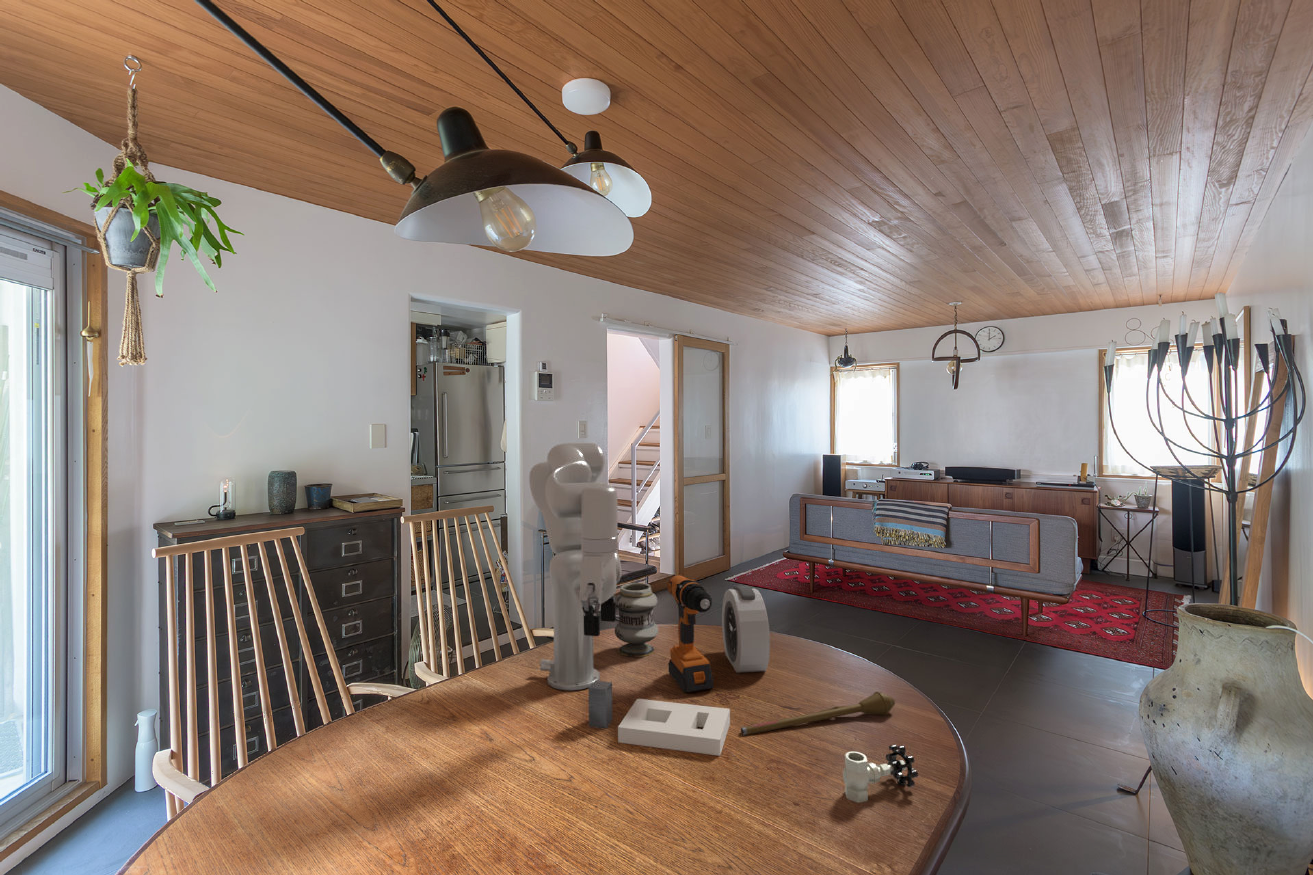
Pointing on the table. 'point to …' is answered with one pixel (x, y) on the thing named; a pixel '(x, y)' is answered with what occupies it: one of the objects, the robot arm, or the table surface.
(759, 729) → the olive long knobbed bar
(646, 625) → the apothecary jar
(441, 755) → the table surface
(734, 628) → the alarm clock
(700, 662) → the power drill
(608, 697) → the square peg
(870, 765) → the valve
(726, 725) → the hole board
